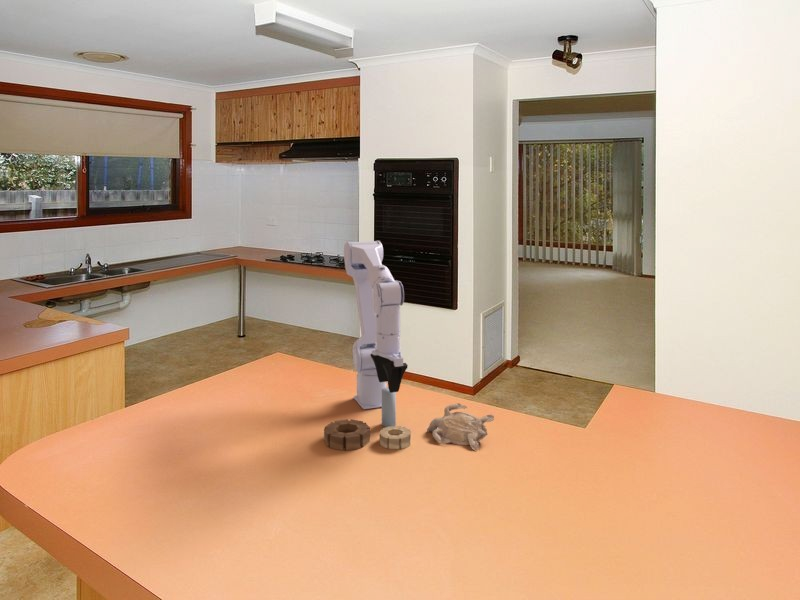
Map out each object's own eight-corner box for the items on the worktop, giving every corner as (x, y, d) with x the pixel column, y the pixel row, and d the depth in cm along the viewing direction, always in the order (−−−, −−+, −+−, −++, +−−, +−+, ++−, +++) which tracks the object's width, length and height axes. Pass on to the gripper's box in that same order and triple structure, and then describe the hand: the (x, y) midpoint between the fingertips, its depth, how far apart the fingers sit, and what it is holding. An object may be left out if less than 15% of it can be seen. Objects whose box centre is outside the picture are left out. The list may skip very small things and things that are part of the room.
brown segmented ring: (320, 435, 141) (320, 423, 141) (361, 428, 145) (361, 417, 144) (331, 453, 132) (331, 440, 132) (374, 445, 136) (374, 433, 135)
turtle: (492, 448, 142) (493, 405, 144) (494, 451, 133) (496, 406, 134) (426, 443, 144) (428, 401, 145) (424, 446, 134) (426, 401, 136)
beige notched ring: (373, 441, 138) (373, 431, 137) (396, 433, 142) (396, 423, 142) (393, 452, 133) (393, 441, 132) (416, 443, 137) (416, 432, 137)
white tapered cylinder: (379, 423, 148) (379, 388, 147) (392, 421, 150) (392, 386, 148) (384, 428, 145) (384, 393, 143) (397, 426, 146) (397, 391, 145)
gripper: (363, 326, 148) (363, 379, 151) (382, 341, 135) (382, 398, 137) (390, 324, 150) (390, 375, 153) (411, 338, 137) (411, 394, 140)
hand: (388, 386), depth 145 cm, fingers open, 7 cm apart
